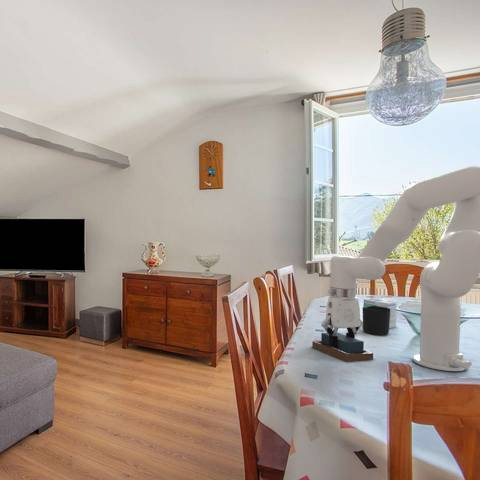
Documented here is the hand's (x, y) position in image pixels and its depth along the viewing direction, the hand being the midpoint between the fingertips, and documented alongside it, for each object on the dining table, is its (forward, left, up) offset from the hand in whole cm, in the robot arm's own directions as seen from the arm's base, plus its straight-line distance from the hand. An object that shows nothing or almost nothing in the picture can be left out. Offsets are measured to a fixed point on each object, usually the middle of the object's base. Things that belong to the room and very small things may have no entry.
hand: (341, 345), depth 135 cm
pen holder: (+19, -33, -3) cm, 38 cm away
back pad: (0, 0, -1) cm, 1 cm away
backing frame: (0, 0, -3) cm, 3 cm away
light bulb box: (+29, -45, -3) cm, 54 cm away
